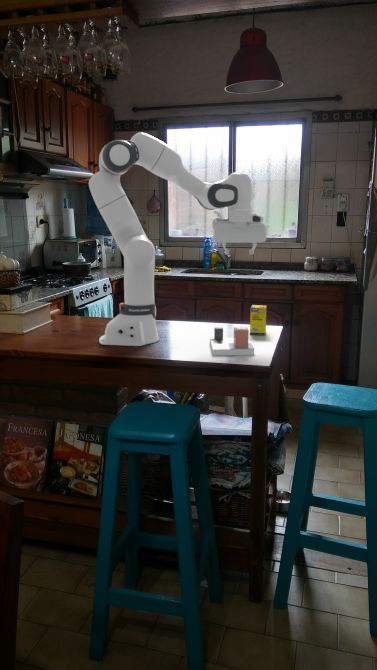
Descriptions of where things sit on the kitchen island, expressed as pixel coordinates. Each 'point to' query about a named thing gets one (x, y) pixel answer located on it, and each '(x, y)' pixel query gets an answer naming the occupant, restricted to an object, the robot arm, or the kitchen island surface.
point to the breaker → (218, 333)
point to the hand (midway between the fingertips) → (239, 254)
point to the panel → (229, 347)
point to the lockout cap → (241, 337)
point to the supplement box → (258, 320)
